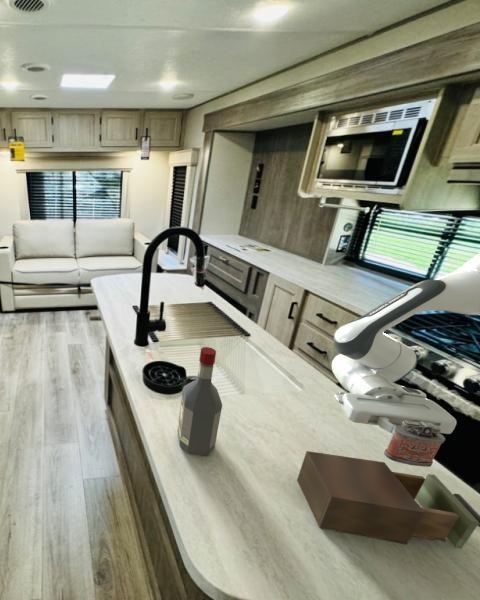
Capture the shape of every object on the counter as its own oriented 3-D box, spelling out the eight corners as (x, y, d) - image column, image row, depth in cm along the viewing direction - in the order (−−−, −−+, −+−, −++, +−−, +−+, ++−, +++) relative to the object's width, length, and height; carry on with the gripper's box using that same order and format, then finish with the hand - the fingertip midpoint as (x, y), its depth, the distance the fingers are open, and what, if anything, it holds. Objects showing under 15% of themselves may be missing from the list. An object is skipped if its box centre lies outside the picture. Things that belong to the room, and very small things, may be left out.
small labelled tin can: (424, 456, 69) (442, 421, 65) (435, 469, 66) (455, 433, 62) (380, 449, 71) (395, 414, 67) (389, 461, 68) (405, 426, 64)
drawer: (442, 502, 70) (457, 477, 67) (487, 553, 60) (506, 527, 57) (347, 487, 74) (357, 463, 71) (375, 533, 64) (388, 507, 61)
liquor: (208, 432, 91) (223, 343, 81) (215, 458, 83) (233, 362, 72) (176, 428, 93) (186, 340, 82) (179, 453, 85) (192, 359, 74)
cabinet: (370, 492, 73) (384, 462, 70) (406, 544, 63) (425, 512, 59) (296, 480, 77) (306, 450, 73) (319, 528, 66) (331, 496, 63)
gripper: (334, 382, 81) (367, 420, 68) (430, 391, 76) (484, 434, 64) (327, 401, 83) (358, 442, 70) (420, 412, 78) (470, 457, 66)
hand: (419, 438), depth 67 cm, fingers closed on small labelled tin can, 5 cm apart
